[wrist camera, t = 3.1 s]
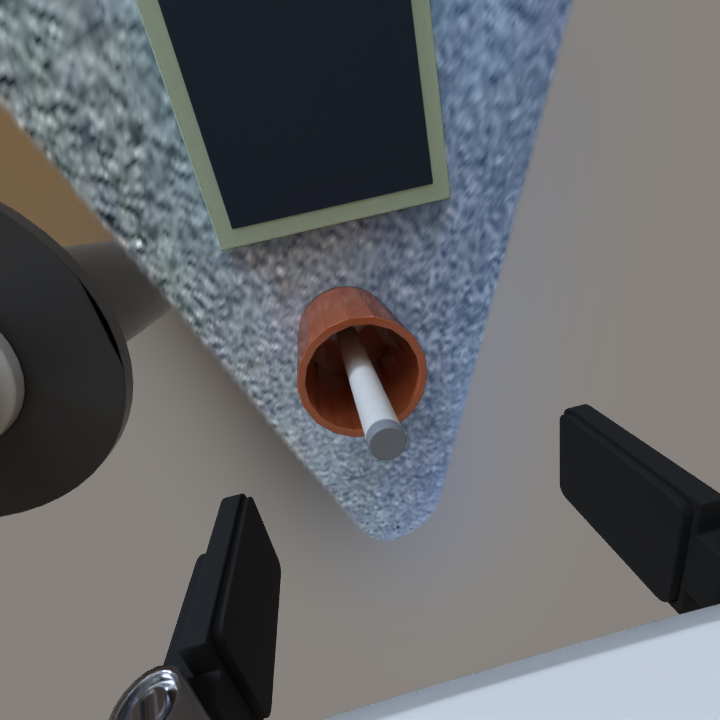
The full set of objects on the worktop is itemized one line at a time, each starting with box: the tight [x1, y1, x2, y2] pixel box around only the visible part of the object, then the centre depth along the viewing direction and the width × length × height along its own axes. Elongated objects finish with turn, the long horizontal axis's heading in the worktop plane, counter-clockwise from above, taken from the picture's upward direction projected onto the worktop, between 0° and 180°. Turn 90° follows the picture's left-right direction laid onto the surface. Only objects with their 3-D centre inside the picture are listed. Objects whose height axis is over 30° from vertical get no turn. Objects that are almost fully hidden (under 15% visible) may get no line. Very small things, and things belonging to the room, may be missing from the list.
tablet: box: [135, 0, 450, 251], centre depth 19 cm, size 14×18×1 cm
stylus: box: [336, 326, 407, 460], centre depth 19 cm, size 1×1×13 cm
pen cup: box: [297, 286, 428, 437], centre depth 22 cm, size 6×6×8 cm
